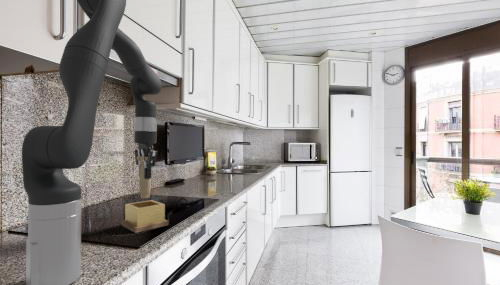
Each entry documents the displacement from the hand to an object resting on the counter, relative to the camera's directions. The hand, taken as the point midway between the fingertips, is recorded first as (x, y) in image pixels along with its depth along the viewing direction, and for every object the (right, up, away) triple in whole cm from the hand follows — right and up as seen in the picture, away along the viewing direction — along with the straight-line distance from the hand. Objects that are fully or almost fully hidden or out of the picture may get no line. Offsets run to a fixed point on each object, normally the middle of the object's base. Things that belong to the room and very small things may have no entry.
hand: (145, 177), depth 96 cm
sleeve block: (0, -17, 0) cm, 17 cm away
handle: (0, -7, 0) cm, 7 cm away
